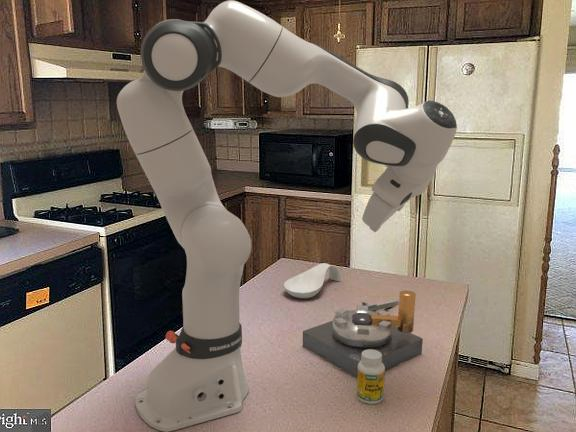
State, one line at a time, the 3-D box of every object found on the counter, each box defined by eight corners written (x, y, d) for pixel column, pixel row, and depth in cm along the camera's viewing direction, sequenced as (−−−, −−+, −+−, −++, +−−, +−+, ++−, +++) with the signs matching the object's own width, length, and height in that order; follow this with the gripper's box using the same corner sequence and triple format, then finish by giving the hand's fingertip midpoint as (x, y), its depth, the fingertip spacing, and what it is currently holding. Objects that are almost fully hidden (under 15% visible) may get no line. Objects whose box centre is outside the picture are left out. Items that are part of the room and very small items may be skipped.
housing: (362, 381, 109) (363, 363, 108) (302, 346, 125) (302, 330, 124) (421, 354, 121) (422, 337, 120) (360, 324, 137) (361, 310, 136)
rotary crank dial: (331, 345, 116) (332, 301, 114) (333, 319, 130) (334, 279, 127) (416, 350, 114) (419, 305, 112) (409, 324, 128) (412, 283, 125)
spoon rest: (306, 306, 149) (307, 283, 148) (275, 296, 156) (275, 274, 155) (350, 284, 167) (350, 263, 166) (320, 276, 175) (320, 256, 173)
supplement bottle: (377, 388, 107) (379, 346, 105) (387, 403, 102) (390, 358, 100) (352, 391, 106) (354, 348, 104) (362, 406, 101) (364, 361, 98)
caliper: (361, 326, 137) (362, 304, 135) (358, 325, 137) (359, 303, 136) (399, 304, 152) (401, 284, 150) (396, 303, 152) (397, 283, 151)
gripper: (421, 145, 111) (399, 188, 121) (368, 188, 99) (348, 232, 109) (446, 161, 109) (421, 204, 119) (394, 207, 97) (371, 250, 107)
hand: (385, 218), depth 114 cm, fingers open, 8 cm apart
